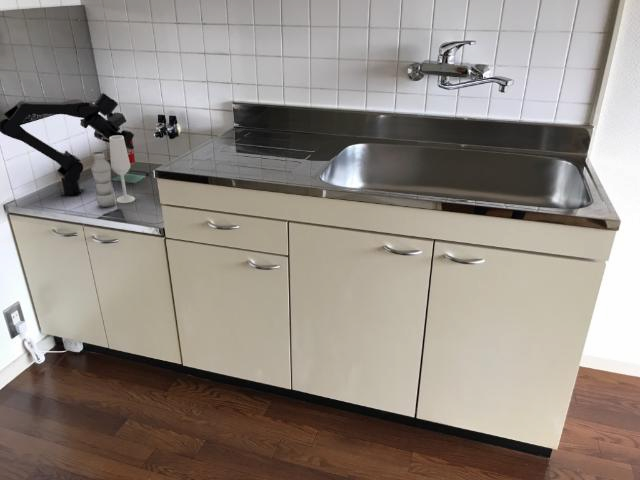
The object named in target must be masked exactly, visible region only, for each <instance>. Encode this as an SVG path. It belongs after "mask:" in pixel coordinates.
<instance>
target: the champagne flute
mask: <svg viewBox="0 0 640 480" xmlns="http://www.w3.org/2000/svg"><path fill="white" fill-rule="evenodd" d="M109 153H110V154H109V155H110V166H111V171H113V172H114V173H115V174H117V176H118V175H121V187H122V195H120V196H119V197H117V199H115V202H117V203H120V204H126V203H132V202H134V201H135V200H136V198H135V197H134V196H132V195H130V194H127V189H126V188H127V187H126V182H125V180H124V175H125V174H128V172H130V171H129V169H130V170H131V165H130V162H129V157H128V153H127V149H126V145H125V141H124V137H123V136H120V135H116V136H111V137H110V143H109Z"/></svg>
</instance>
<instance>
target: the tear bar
mask: <svg viewBox="0 0 640 480" xmlns="http://www.w3.org/2000/svg"><path fill="white" fill-rule="evenodd" d="M128 172H131V173H132V172H133V173H141V174H145V176H146V177H147V176H149V175H150V176H151V171H148V170H147V171H145V170H137V169H131V168H130V169H129V171H128ZM150 176H149V177H150Z"/></svg>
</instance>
